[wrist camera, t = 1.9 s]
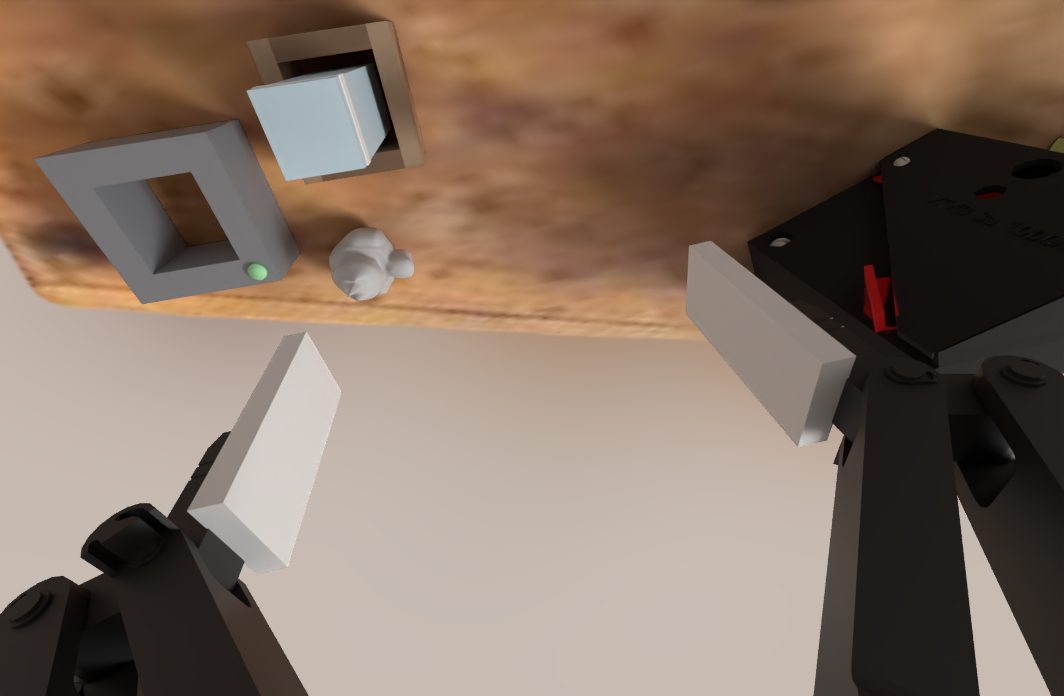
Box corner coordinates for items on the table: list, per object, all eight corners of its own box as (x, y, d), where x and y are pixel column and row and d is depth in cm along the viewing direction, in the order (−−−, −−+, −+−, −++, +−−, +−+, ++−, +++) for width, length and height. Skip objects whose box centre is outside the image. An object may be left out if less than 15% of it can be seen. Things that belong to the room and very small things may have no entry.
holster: (269, 40, 28) (245, 41, 25) (393, 22, 29) (386, 20, 25) (319, 169, 33) (305, 184, 30) (425, 152, 33) (422, 165, 30)
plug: (312, 71, 30) (244, 89, 20) (373, 62, 30) (335, 75, 20) (335, 137, 32) (285, 182, 22) (392, 128, 32) (366, 169, 22)
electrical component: (762, 305, 47) (925, 448, 31) (743, 225, 41) (931, 349, 25) (932, 220, 44) (1213, 329, 28) (937, 120, 38) (1296, 185, 22)
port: (89, 142, 30) (29, 160, 26) (238, 119, 30) (203, 132, 26) (176, 273, 36) (139, 306, 32) (300, 252, 36) (280, 281, 32)
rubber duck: (329, 219, 35) (301, 260, 29) (414, 220, 36) (405, 260, 30) (341, 280, 38) (319, 330, 32) (419, 280, 39) (413, 328, 33)
